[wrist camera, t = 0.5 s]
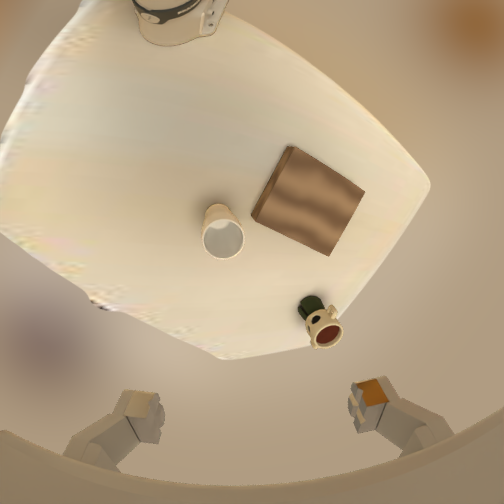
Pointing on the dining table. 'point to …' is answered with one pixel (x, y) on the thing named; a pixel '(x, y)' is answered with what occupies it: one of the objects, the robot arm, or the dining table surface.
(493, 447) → the robot arm
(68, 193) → the dining table surface
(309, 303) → the character mug
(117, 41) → the dining table surface
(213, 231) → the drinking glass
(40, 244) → the dining table surface
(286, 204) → the walnut riser dock
